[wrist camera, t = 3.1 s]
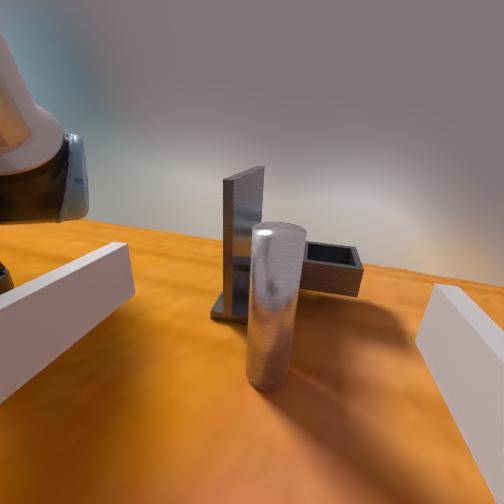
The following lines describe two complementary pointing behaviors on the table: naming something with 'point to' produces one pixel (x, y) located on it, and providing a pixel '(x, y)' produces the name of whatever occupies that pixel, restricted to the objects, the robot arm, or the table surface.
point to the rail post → (273, 302)
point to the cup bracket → (240, 242)
